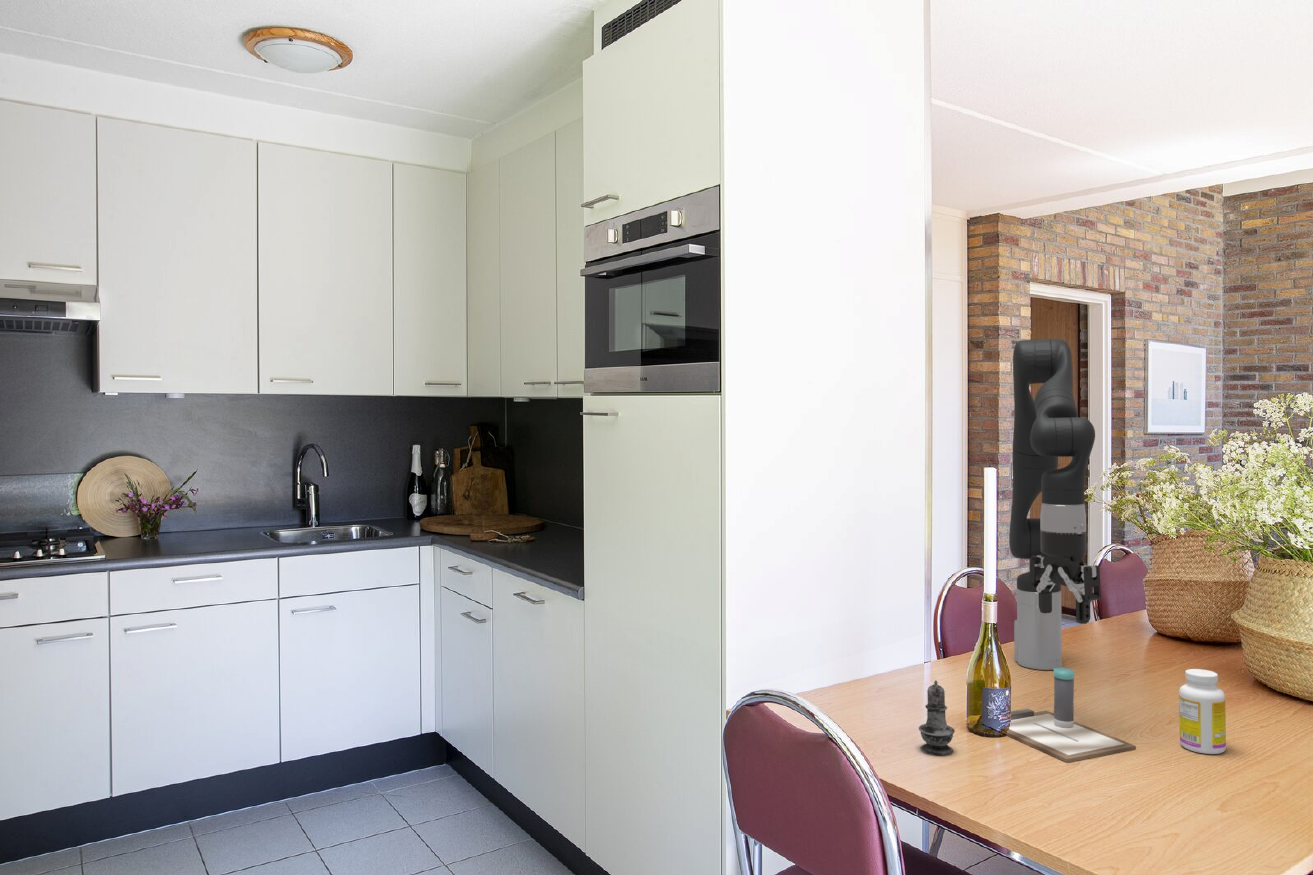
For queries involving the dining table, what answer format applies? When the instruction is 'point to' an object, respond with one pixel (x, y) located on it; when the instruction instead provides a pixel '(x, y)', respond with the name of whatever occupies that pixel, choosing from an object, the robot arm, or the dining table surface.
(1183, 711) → the supplement bottle
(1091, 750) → the clipboard
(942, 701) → the salt shaker
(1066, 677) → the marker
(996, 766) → the dining table surface
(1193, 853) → the dining table surface
